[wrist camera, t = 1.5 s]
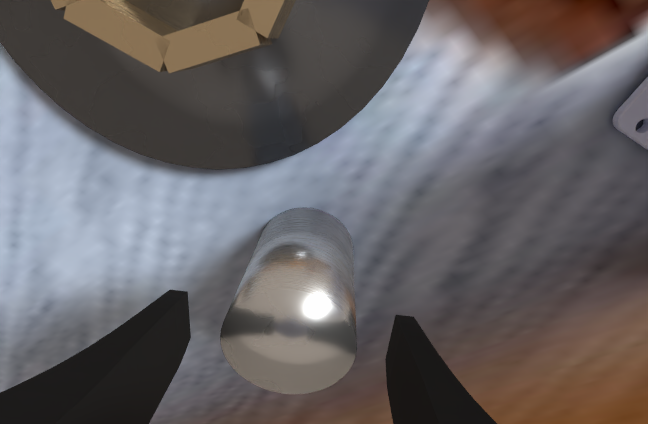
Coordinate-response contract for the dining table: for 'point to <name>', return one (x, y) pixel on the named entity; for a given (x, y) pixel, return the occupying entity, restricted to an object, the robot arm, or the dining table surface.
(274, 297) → the piston
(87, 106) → the ring collar
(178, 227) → the dining table surface
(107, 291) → the dining table surface
